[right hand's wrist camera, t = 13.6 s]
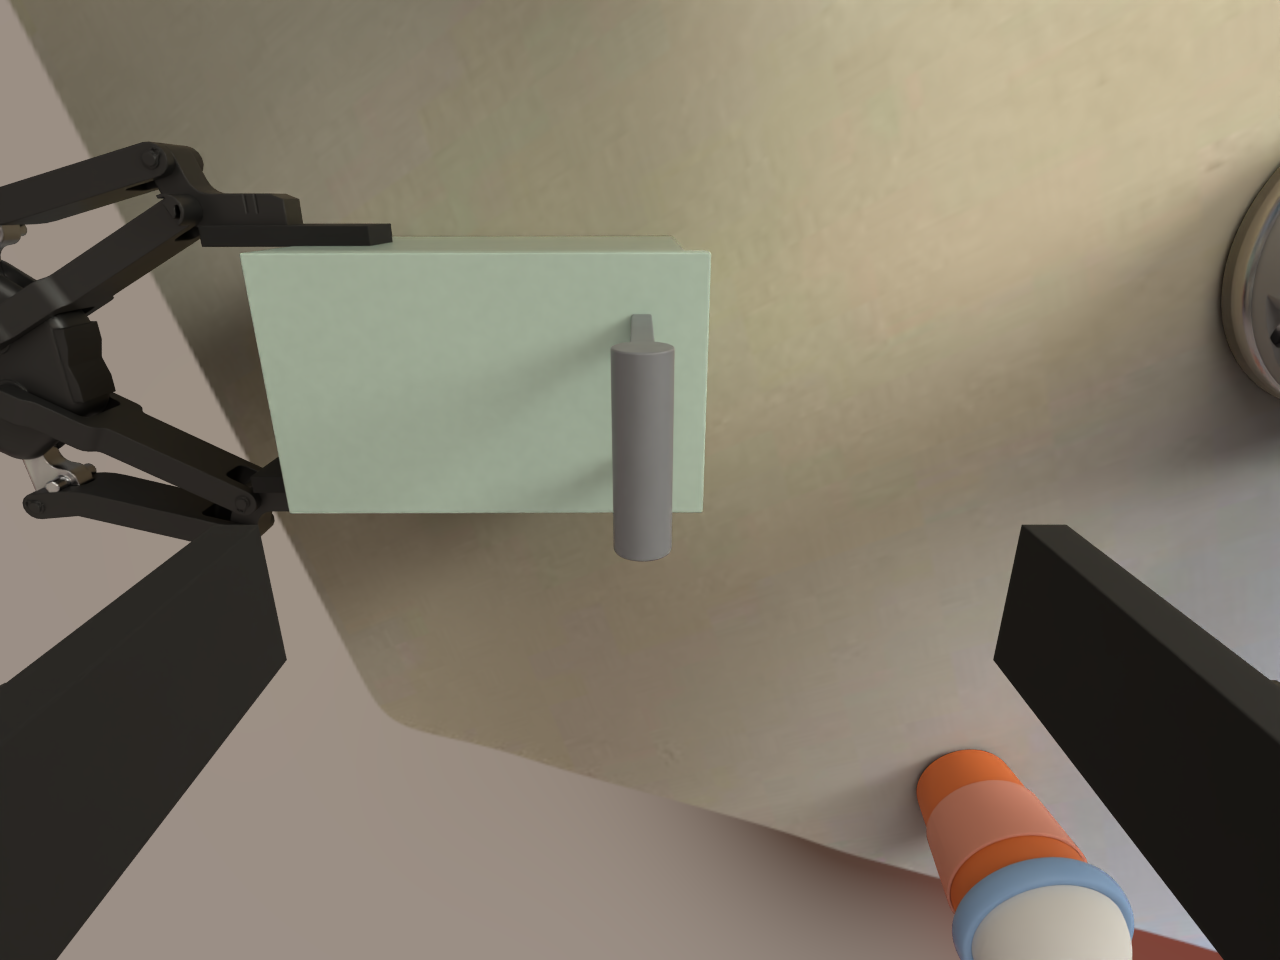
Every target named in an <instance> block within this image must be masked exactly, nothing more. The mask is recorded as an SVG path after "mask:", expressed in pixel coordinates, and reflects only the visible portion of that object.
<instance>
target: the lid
mask: <svg viewBox="0 0 1280 960" xmlns="http://www.w3.org/2000/svg"><path fill="white" fill-rule="evenodd" d="M240 260H241V265H242V270H243V275H244V281H245V286H246V291H247V296H248V301H249V306H250V311H251V317H252V322H253V327H254V332H255V337H256V342H257V348H258V353H259V358H260V363H261V368H262V373H263V378H264V384H265V389H266V394H267V399H268V404H269V409H270V414H271V420H272V425H273V430H274V435H275V440H276V445H277V450H278V456H279V461H280V466H281V471H282V476H283V481H284V486H285V492H286V497H287V502H288V507H289V512H290V513H291V514H340V513H613V534H614V550H615V552H616V553H617V554H618V555H619V556H620V557H622V558H625V559H628V560H632V561H653V560H658V559H661V558H663V557H665V556H667V555H668V554H669V553H670V551H671V549H672V513H701V512H702V511H703V489H704V458H705V427H706V396H707V365H708V334H709V303H710V272H711V253H710V252H709V251H707V250H607V251H254V252H246V253H241V254H240Z"/></svg>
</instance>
